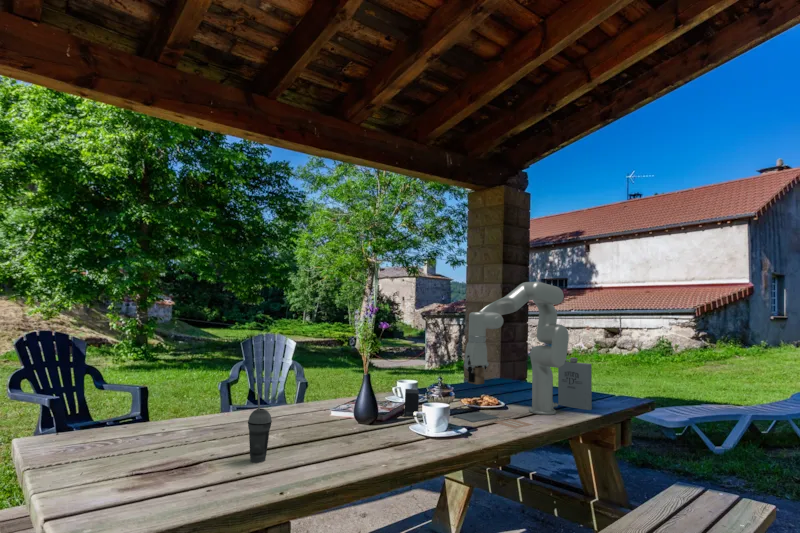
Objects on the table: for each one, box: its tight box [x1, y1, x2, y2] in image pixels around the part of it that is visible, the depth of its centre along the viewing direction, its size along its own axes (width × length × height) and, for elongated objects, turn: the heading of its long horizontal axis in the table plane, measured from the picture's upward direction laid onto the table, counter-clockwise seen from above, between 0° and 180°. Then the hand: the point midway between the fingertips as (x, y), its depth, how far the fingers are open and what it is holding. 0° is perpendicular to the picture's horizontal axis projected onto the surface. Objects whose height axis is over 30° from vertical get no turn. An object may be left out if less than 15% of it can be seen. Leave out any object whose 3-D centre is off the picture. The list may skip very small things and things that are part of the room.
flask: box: [557, 357, 593, 411], centre depth 249 cm, size 17×5×25 cm, turn 44°
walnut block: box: [467, 366, 486, 385], centre depth 214 cm, size 5×5×7 cm
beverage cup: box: [247, 393, 273, 464], centre depth 150 cm, size 7×7×20 cm
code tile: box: [493, 418, 534, 429], centre depth 204 cm, size 12×12×1 cm
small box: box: [403, 388, 420, 417], centre depth 221 cm, size 11×6×10 cm, turn 179°
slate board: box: [452, 411, 500, 423], centre depth 213 cm, size 16×12×2 cm
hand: (476, 381), depth 214 cm, fingers closed on walnut block, 5 cm apart
